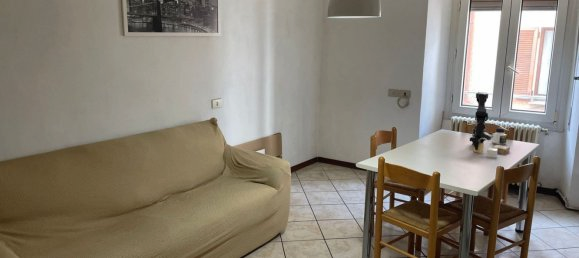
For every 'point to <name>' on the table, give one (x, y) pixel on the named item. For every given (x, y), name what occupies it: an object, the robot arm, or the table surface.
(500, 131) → the medicine bottle
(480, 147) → the ochre block
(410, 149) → the table surface
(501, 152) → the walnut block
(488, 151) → the grey block
